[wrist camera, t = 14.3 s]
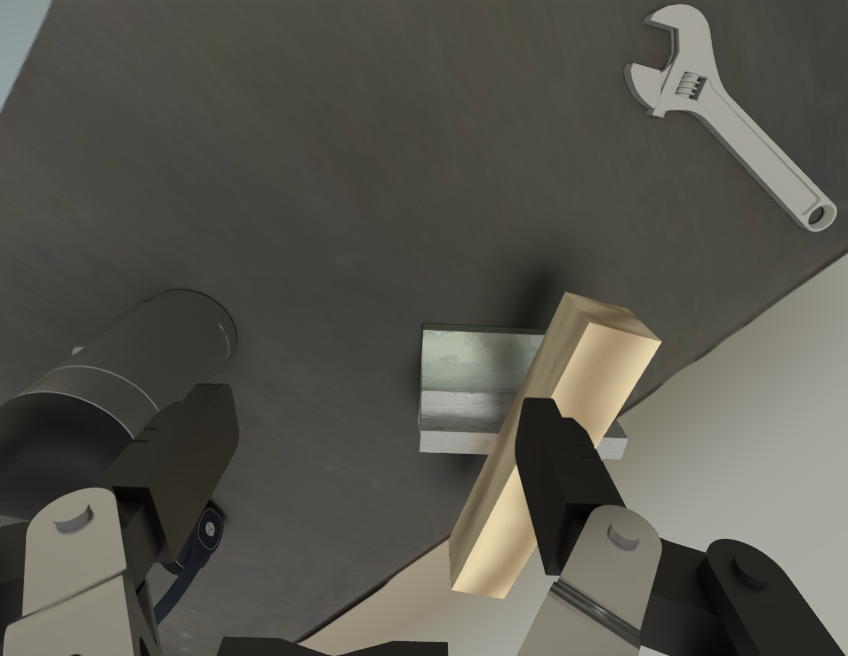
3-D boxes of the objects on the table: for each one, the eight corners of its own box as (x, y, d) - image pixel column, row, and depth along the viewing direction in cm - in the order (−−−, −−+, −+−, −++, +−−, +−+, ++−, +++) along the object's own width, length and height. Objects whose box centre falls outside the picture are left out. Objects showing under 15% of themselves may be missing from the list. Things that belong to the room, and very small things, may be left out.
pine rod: (448, 540, 43) (451, 589, 39) (565, 291, 31) (589, 322, 26) (495, 549, 44) (503, 598, 39) (627, 308, 31) (661, 341, 27)
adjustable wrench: (829, 210, 40) (846, 214, 38) (765, 260, 42) (778, 267, 40) (671, -9, 32) (684, -15, 30) (603, 68, 34) (612, 66, 33)
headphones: (209, 486, 55) (120, 645, 38) (239, 520, 58) (167, 681, 41) (85, 525, 58) (-47, 687, 42) (119, 556, 61) (8, 718, 45)
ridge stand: (418, 415, 50) (417, 490, 40) (423, 323, 44) (424, 384, 34) (571, 421, 50) (607, 497, 40) (595, 331, 45) (644, 393, 35)
